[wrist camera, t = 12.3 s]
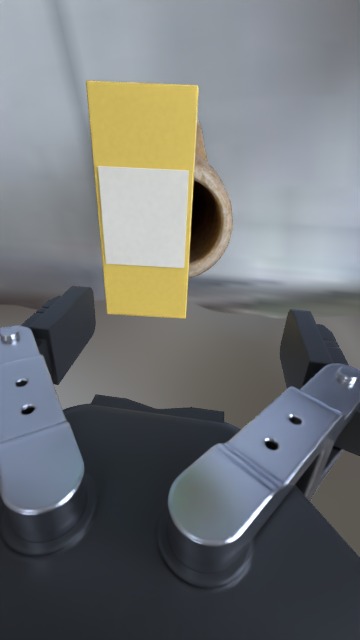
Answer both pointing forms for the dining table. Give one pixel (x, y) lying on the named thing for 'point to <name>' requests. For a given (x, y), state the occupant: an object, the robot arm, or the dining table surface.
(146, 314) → the packet
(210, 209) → the stone cup
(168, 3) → the dining table surface
